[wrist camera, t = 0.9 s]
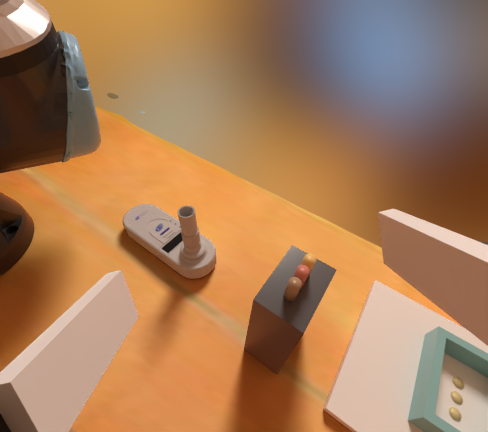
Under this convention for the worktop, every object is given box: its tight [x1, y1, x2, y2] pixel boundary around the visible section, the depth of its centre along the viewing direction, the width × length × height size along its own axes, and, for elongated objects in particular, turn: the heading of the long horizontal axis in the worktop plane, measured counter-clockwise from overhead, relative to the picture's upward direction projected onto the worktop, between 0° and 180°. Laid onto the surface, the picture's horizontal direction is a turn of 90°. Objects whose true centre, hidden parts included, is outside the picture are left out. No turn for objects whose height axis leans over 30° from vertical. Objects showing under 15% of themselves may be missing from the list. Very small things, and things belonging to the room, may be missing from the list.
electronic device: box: [123, 204, 216, 279], centre depth 33 cm, size 5×10×15 cm
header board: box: [323, 280, 488, 432], centre depth 24 cm, size 20×16×4 cm
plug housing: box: [244, 245, 336, 374], centre depth 24 cm, size 4×6×14 cm, turn 145°
